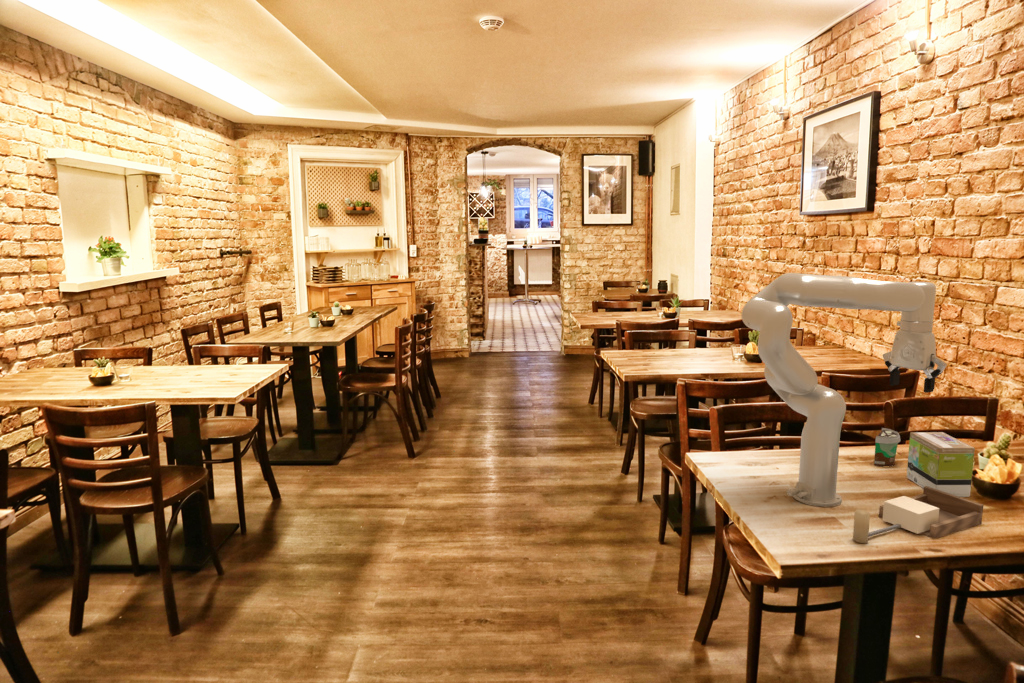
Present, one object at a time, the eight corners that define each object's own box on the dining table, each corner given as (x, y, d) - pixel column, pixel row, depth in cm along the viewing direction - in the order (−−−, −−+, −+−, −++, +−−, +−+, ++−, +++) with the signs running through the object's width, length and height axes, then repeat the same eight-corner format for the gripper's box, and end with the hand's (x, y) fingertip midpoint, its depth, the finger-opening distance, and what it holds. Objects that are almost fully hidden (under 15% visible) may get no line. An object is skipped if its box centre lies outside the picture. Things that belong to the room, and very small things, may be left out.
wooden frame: (934, 538, 159) (936, 519, 158) (878, 516, 172) (880, 498, 171) (981, 523, 168) (983, 504, 167) (924, 503, 180) (926, 486, 180)
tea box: (904, 478, 200) (909, 430, 197) (938, 478, 199) (943, 431, 197) (934, 497, 185) (939, 446, 182) (971, 497, 184) (976, 446, 182)
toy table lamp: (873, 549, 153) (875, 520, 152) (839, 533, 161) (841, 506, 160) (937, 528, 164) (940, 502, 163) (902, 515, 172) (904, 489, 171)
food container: (895, 470, 206) (898, 439, 205) (873, 466, 210) (875, 436, 208) (901, 460, 216) (903, 430, 214) (879, 456, 219) (882, 427, 218)
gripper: (877, 324, 187) (873, 384, 189) (939, 331, 171) (933, 396, 174) (895, 322, 190) (890, 381, 193) (957, 330, 175) (951, 393, 177)
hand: (910, 388), depth 183 cm, fingers open, 9 cm apart
